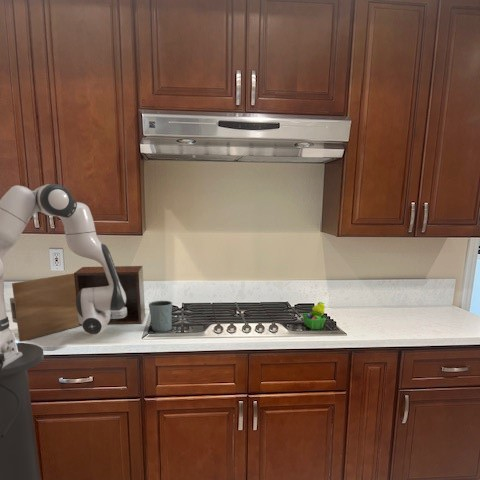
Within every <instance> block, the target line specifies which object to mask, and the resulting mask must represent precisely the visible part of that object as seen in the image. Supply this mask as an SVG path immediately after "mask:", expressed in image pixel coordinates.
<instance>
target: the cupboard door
mask: <svg viewBox="0 0 480 480" xmlns="http://www.w3.org/2000/svg"><path fill="white" fill-rule="evenodd" d="M11 288H12V294H13V297H9V304H10V311H11V319H12V323H14V324H16V325H17V332H18V333H17V334H18V342H19V343H22V342H25V341H29V340H33V339H36V338H40V337H43V336H47V335H51V334H55V333H58V332H61V331H66V330H69V329H72V328H77V327H80V326H79V321H78V310H77V306H76V289H75V278H74V273H68V274H62V275H54V276H49V277H42V278H37V279H29V280H24V281H18V282H12V283H11Z"/></svg>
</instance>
